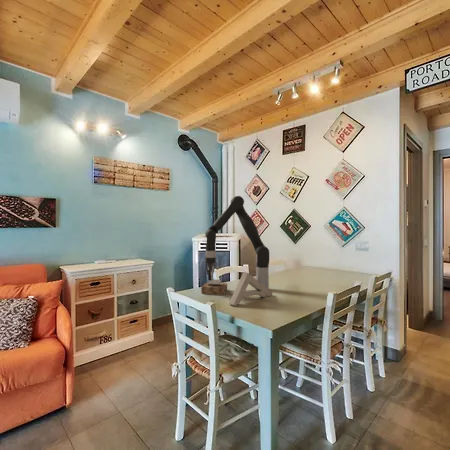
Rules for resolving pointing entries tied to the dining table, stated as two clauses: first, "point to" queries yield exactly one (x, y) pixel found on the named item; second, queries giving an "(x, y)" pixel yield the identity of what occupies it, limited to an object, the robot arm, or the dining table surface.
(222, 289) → the well block
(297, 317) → the dining table surface
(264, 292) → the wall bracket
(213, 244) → the robot arm
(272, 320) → the dining table surface
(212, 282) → the bracket
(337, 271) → the dining table surface
